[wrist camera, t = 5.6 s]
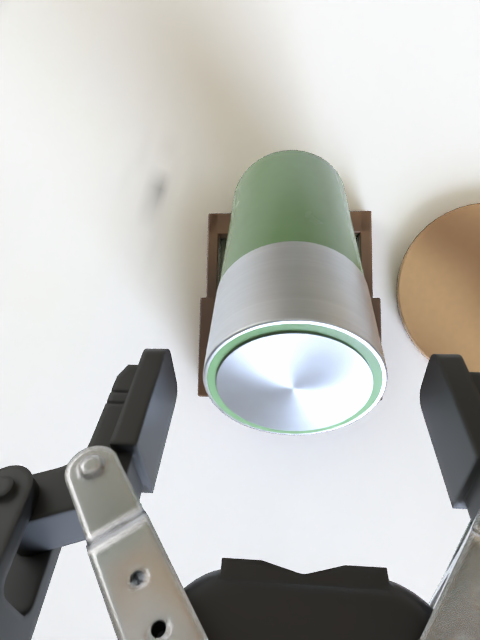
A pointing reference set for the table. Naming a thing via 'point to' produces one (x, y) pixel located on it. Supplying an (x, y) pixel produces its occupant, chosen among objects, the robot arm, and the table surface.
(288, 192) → the green can
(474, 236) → the cork coaster
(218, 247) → the walnut rest
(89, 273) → the table surface
